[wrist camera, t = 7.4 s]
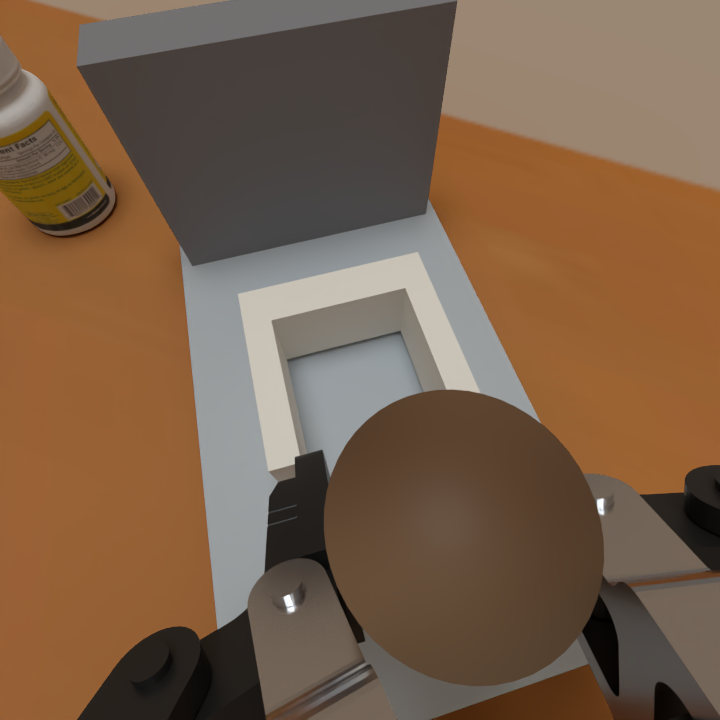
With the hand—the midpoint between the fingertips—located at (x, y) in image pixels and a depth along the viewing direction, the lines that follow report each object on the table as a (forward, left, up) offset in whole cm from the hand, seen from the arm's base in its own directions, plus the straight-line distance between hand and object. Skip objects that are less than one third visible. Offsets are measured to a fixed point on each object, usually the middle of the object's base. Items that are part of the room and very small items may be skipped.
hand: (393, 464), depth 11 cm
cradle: (+4, +2, -5) cm, 6 cm away
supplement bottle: (+13, +20, -6) cm, 25 cm away
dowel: (-2, -1, -4) cm, 4 cm away
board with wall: (+4, +2, -6) cm, 8 cm away
